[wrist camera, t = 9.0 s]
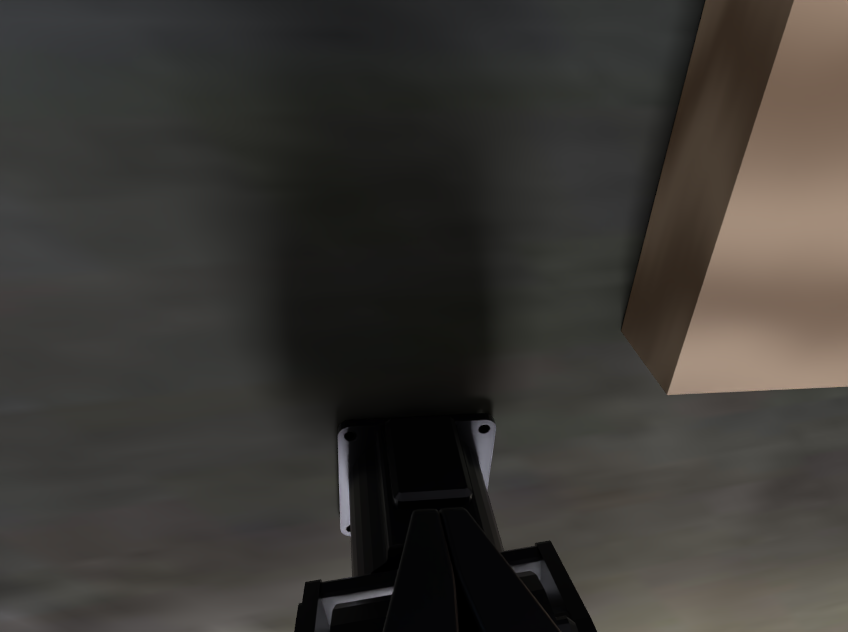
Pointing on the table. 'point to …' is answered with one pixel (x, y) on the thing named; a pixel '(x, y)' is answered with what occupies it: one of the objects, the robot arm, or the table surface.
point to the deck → (752, 208)
